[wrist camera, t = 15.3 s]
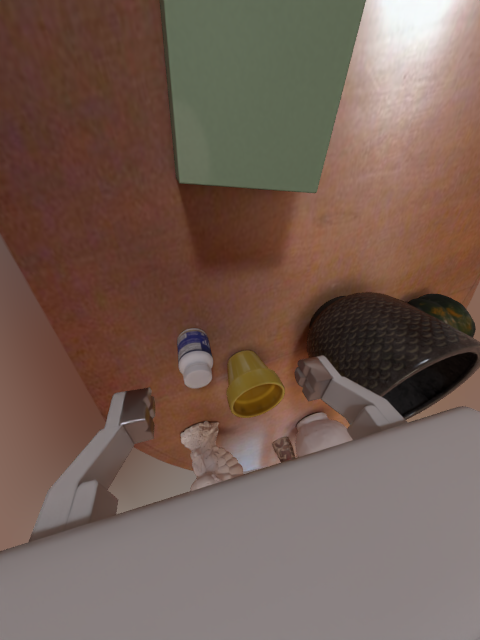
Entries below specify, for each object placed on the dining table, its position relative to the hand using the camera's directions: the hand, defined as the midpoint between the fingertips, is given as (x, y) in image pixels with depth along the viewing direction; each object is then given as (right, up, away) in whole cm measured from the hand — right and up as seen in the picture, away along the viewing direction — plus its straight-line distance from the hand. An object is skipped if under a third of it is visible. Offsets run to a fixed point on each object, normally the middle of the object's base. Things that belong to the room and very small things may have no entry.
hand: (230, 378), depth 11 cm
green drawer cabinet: (0, +25, +8) cm, 26 cm away
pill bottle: (-8, 0, +25) cm, 26 cm away
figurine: (+16, -44, +68) cm, 82 cm away
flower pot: (+1, -5, +32) cm, 32 cm away
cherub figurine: (-10, -28, +46) cm, 54 cm away
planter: (+20, +4, +32) cm, 38 cm away
